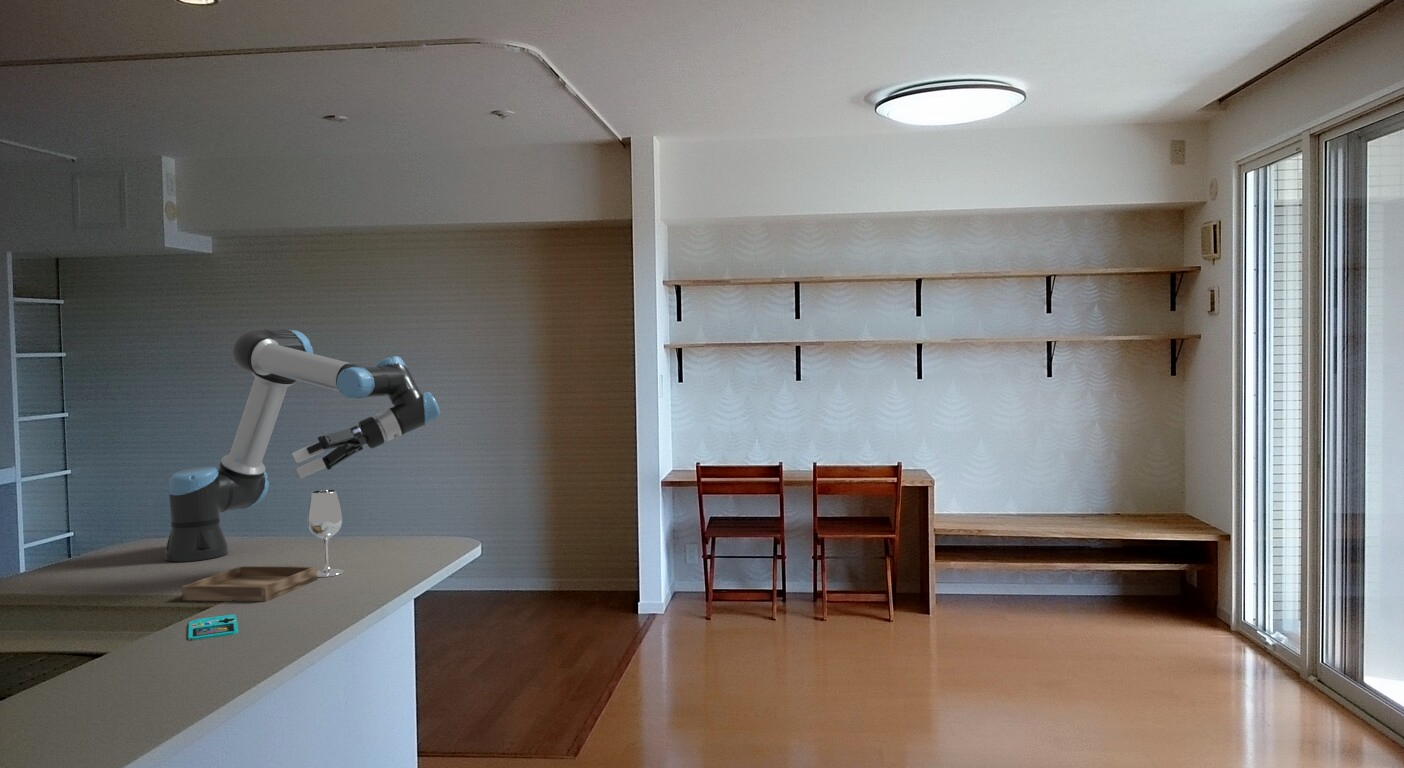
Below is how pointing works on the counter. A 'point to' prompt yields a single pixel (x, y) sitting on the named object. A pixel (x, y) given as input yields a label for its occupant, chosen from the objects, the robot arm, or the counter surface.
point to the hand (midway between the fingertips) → (296, 466)
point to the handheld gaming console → (213, 626)
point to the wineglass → (325, 522)
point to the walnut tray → (249, 583)
